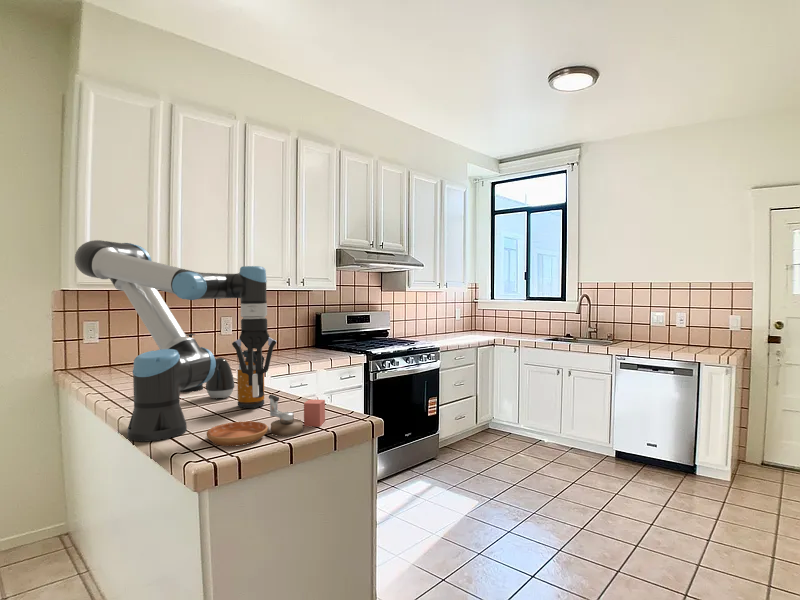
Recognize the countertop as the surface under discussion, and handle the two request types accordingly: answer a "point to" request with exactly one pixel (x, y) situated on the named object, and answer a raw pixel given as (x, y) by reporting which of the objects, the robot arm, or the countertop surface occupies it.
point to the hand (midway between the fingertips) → (255, 396)
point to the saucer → (237, 433)
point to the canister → (247, 391)
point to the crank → (284, 416)
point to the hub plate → (286, 428)
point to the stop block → (314, 412)
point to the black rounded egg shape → (221, 380)
